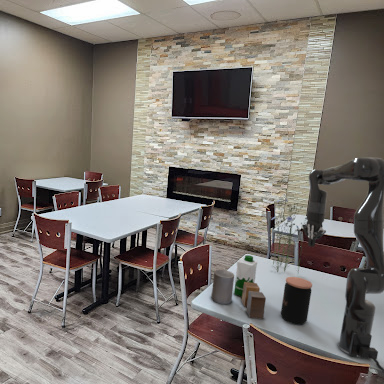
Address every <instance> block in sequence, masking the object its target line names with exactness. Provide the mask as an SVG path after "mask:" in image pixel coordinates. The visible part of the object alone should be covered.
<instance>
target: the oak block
mask: <svg viewBox="0 0 384 384" xmlns="http://www.w3.org/2000/svg"><path fill="white" fill-rule="evenodd" d="M260 290H261V288H260V286H259V285H258V283H257V282H255V283H249V282H244V286H243V295H242V297H241V302H242V305H243V307H245V308H247V301H248V293H249V291H255V292H261V291H260Z"/></svg>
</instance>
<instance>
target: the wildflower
mask: <svg viewBox="0 0 384 384" xmlns="http://www.w3.org/2000/svg"><path fill="white" fill-rule="evenodd" d="M280 201H281V199H279V200H277V201H276V204H278V209H279V212H280V213H278V217H279V219H280V220H276V216H274V217H272V218H271V219H270V220H271V221H273V220H275V225H276V226H277V231H276V235H277V236H276V238H275V239H276V242H278V244H275V248H277V246H278V248H277V249H278V250H280V249H281V248H282V251H277V250H274V251H275V252H274V254H273V260H272V261H273V263H272V266H274V264H275V263H276V265H275V270H276V272H277V273H278V272H279V268H280V267H282V264H284V266H283V271H284V272H286V269H287V266H289V261H290V259H289V258H290V257H289V255H290V250H291V249H290V248H291V245H292V240H291V239H292V238H293V237H294V234H296V233H297V232H299V230H300V229H299V225H297V224H296V223H293V222H294V221H295V220H296V216H297V215H298V214H299V213H300V211H301V210H302V209H303V207H304V206H303V205H301V206H299V208H300V209H297V210H296V206H298V205H299V202H297V203H293V205H292V203H289V204H287V203H288V202H289V200H288V199H287V198H285V200H284V199H283V200H282V202H281V203H280ZM284 201H285V202H284ZM283 202H284V205H283ZM286 204H287V205H286ZM285 206H287V207H288V208H289V209H288V212H289V216H287V217H286V219H285V216H283V220H282V216H281V215H282V214H283V210H284V209H285ZM281 207H282V208H281ZM280 208H281V209H280ZM292 215H293V216H292ZM306 218H307V217H305V218H304V219H305V220H304V221H303V222H300V225H301V226H302V225H303V224H306V222H307V221H306V220H307V219H306ZM282 223H283V224H282ZM280 224H281V227H280ZM295 225H296V226H295ZM293 226H295V227H296V228H295V229H294V233H292V232H293V231H292V230H293ZM280 228H281V229H280ZM286 228H287V230H286ZM280 230H281V231H280ZM283 231H284V233H286V232H287V233H286V238H285V235H281V234H282V233H283ZM301 233H302V235H301V241H300V242H301V243H300V252H299V253H300V254H299V255H302V250H303V246H302V245H303V236H304V235H305V232H304V229H303V228H302V230H301ZM280 235H281V236H280ZM282 237H283V239H284V241H282V243H284V244H281V240H280V239H281V238H282ZM287 244H288V246H287V247H286V245H287ZM285 249H286V250H287V253H286V252H285ZM280 254H281V256H279V255H280ZM285 255H286V256H285ZM276 256H277V259H276ZM284 258H285V261H284ZM283 261H284V262H283ZM300 264H301V259H299V261H298V265H297V270H296V271H297V274H299V272H300V270H299V269H300Z"/></svg>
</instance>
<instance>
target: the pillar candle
mask: <svg viewBox="0 0 384 384" xmlns="http://www.w3.org/2000/svg"><path fill="white" fill-rule="evenodd" d="M234 283H235V273H234V272H232V271H229V270H226V269H216V270H214V272H213V281H212V289H211V300H212V301H213V302H215V303H217V304H221V305H229V304H231V303H232V298H233V291H234Z"/></svg>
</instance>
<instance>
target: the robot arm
mask: <svg viewBox="0 0 384 384" xmlns="http://www.w3.org/2000/svg"><path fill="white" fill-rule="evenodd" d="M345 180H346V181H347V180H351V181H357V182H367V183H368V186H367V187H368V188H367V192H366V196H365V198H364V199H363V201H361V203H360V205H359V206H358V208H356V210H355V212H354V215H353V233H354V236H355V238H356V240H357V242H358V243H359V245H360V247H361V248H362V250H363V252H364V255H365V260H366V268H365V267H355V268H351V269H350V270H349V271H348V273H347V277H346V283H345V284H346V285H345V293H344V294H345V295H344V297H345V307H344V312H343V317H342V324H341V329H340V334H339V335H340V336H339V342H338V345H337V346H338V349H339V350H341V351H342V352H343V353H345V354H346V355H348V356H349V357H350V358H351V357H352V358H360V359H367V360H369V359H370V360H372V361H374V363H375V365H376V366H377V367H378V368H379V369H380V370H381V371H382V372H384V368H383V367H382V365H381V364H380V363H379V361H378V359H377V358H378V354H379V351H378V350H377V349H376V348H375V347H371V343H372V338H373V336H372V330H373V324H374V320H375V316H376V315H375V314H376V305H375V304H374V303H373V302H371V301H370V300H367V299H366V295H379V294H382V293H383V292H384V159H383V158H381V157H369V156H367V157H365V156H358V157H355V158H353V159H351V160H349V161H346V162H345V163H342V164H340V165H336V166H332V167H328V168H326V169H317V168H315V169H312V170H310V172H309V174H308V183H309V190H310V191H309V192H310V195H309V202H308V205H307V211H306V217H305V218H306V219H305V220H307V221H306V223H304V224H302V225H301V227H302V230H303V229H304V230H303V233H304V235H305V236H306V237H307V238H308V240H307V246H308V247H311V248H312V247H315V245H316V240H320V239H321V238H322V237H323V236H324V235H325V234H326V233H327V231H326V229H324V227H323V223H324V222H325V217H326V212H327V211H326V210H327V200H328V191H326V190H324V189H322V188H320V187H319V185H321V186H332V185H333V184H338V183H343V182H344V181H345Z"/></svg>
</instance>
